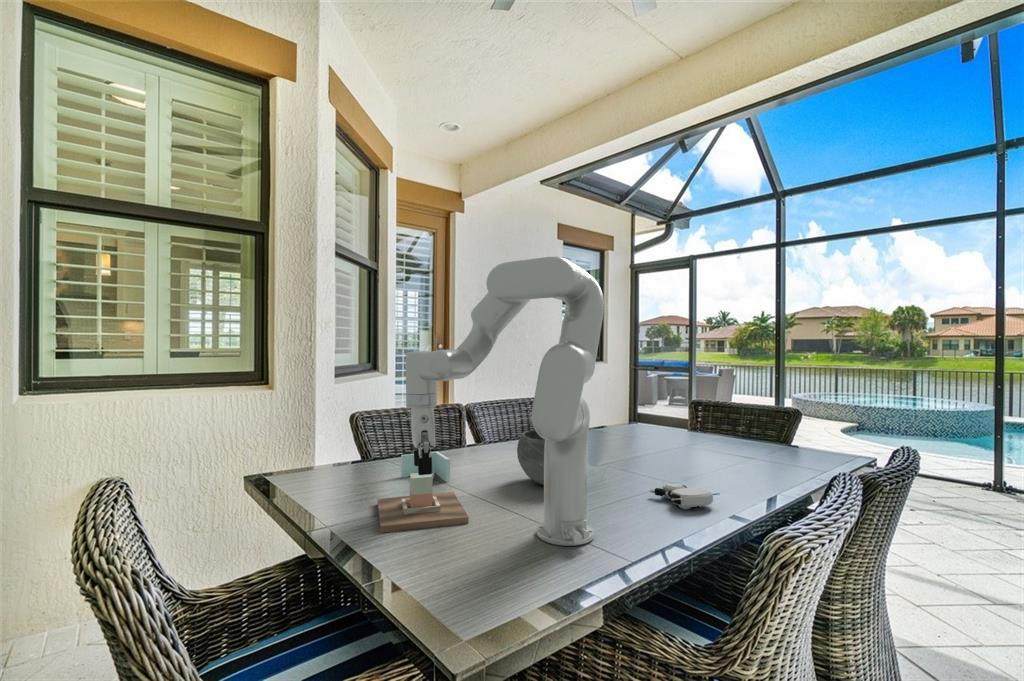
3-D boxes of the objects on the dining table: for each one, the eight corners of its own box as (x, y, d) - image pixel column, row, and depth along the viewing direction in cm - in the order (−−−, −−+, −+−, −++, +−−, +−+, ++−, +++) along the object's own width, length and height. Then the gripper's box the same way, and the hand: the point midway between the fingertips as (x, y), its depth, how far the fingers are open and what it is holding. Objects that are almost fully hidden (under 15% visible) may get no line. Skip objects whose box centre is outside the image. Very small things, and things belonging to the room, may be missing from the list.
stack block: (432, 509, 118) (432, 476, 118) (411, 511, 117) (411, 478, 117) (429, 503, 123) (429, 471, 123) (409, 505, 121) (409, 473, 121)
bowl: (585, 496, 134) (585, 442, 134) (510, 491, 138) (510, 438, 138) (588, 476, 154) (588, 429, 154) (523, 472, 158) (523, 426, 159)
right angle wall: (401, 478, 153) (401, 455, 153) (437, 474, 158) (437, 451, 158) (410, 488, 142) (411, 463, 142) (449, 483, 147) (449, 459, 147)
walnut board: (468, 523, 113) (468, 511, 113) (380, 532, 107) (380, 520, 107) (453, 497, 132) (453, 487, 132) (377, 504, 126) (377, 494, 126)
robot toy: (647, 501, 133) (683, 514, 119) (646, 484, 133) (682, 496, 119) (683, 496, 137) (723, 509, 123) (682, 480, 137) (722, 491, 123)
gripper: (441, 403, 113) (443, 476, 112) (431, 396, 129) (433, 461, 129) (409, 405, 111) (410, 480, 110) (403, 398, 127) (404, 463, 127)
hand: (422, 469), depth 120 cm, fingers open, 9 cm apart
